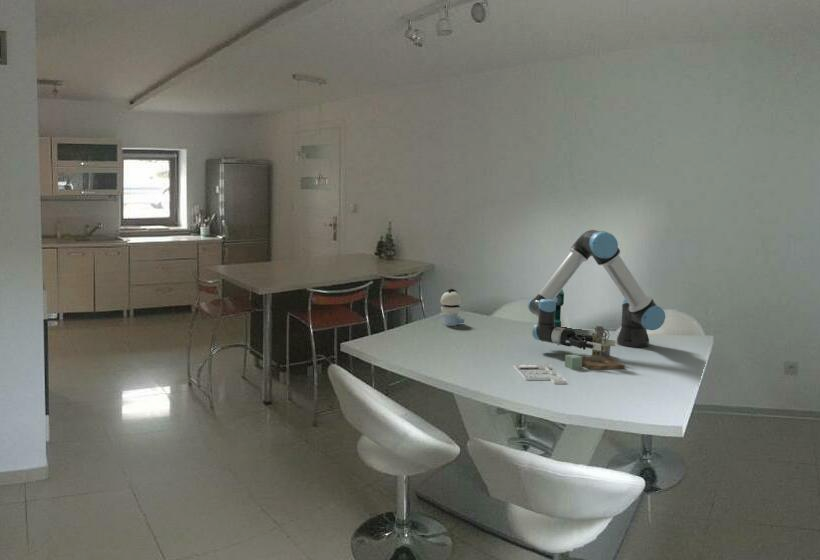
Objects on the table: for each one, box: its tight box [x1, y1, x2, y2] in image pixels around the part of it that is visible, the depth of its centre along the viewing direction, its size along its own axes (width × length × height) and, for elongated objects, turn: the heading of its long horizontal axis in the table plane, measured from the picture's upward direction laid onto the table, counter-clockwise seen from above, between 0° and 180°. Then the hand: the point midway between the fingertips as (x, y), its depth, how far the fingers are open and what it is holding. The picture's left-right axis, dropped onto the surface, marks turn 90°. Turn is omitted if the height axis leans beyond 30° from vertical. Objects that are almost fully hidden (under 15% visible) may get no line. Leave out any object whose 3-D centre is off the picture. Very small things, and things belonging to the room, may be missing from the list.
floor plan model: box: [513, 363, 567, 385], centre depth 276 cm, size 15×25×2 cm, turn 5°
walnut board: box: [581, 355, 625, 371], centre depth 294 cm, size 16×16×2 cm
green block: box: [564, 353, 583, 370], centre depth 288 cm, size 5×5×5 cm
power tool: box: [554, 288, 565, 328], centre depth 369 cm, size 32×7×20 cm, turn 168°
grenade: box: [590, 325, 611, 362], centre depth 293 cm, size 7×7×15 cm
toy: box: [439, 288, 465, 327], centre depth 375 cm, size 16×13×20 cm
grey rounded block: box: [601, 344, 611, 357], centre depth 309 cm, size 6×6×5 cm
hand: (607, 345), depth 290 cm, fingers open, 11 cm apart
